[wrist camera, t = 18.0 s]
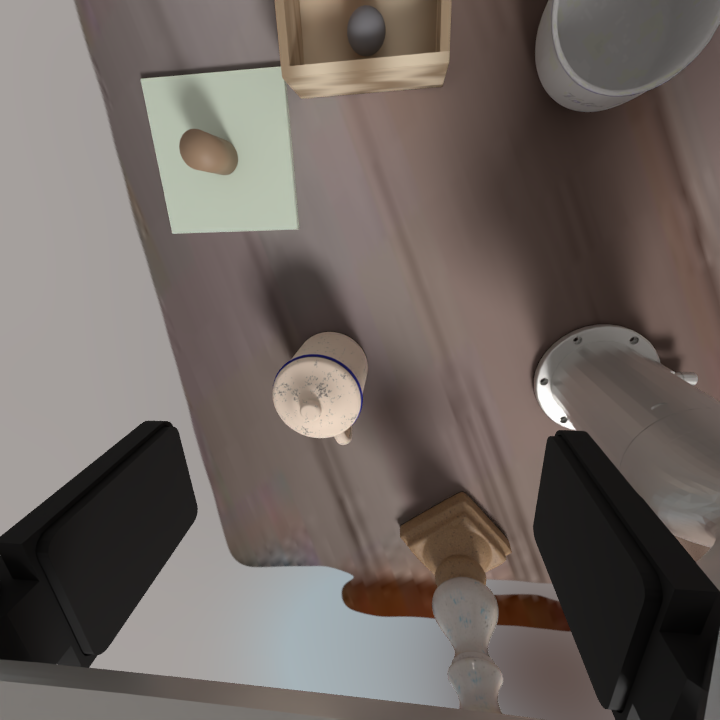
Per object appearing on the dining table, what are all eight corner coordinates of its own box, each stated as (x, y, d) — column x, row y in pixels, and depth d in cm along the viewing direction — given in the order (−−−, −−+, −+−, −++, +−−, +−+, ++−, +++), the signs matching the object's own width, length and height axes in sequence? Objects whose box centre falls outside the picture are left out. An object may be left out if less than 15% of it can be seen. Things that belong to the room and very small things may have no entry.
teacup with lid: (283, 341, 45) (244, 383, 34) (354, 318, 43) (337, 355, 32) (320, 425, 48) (296, 487, 38) (387, 408, 46) (382, 468, 36)
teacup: (535, 142, 35) (571, 123, 27) (507, 4, 31) (539, -61, 24) (708, 70, 31) (801, 26, 24) (697, -92, 28) (801, -201, 21)
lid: (286, 70, 35) (263, 43, 29) (300, 228, 40) (283, 231, 35) (148, 82, 37) (101, 59, 31) (178, 233, 42) (142, 236, 36)
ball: (386, 14, 32) (384, -6, 29) (386, 60, 33) (385, 45, 30) (348, 18, 32) (343, -1, 29) (350, 64, 33) (345, 49, 30)
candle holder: (445, 573, 55) (471, 813, 33) (398, 526, 53) (392, 750, 31) (510, 541, 52) (588, 786, 30) (462, 489, 50) (508, 713, 27)
